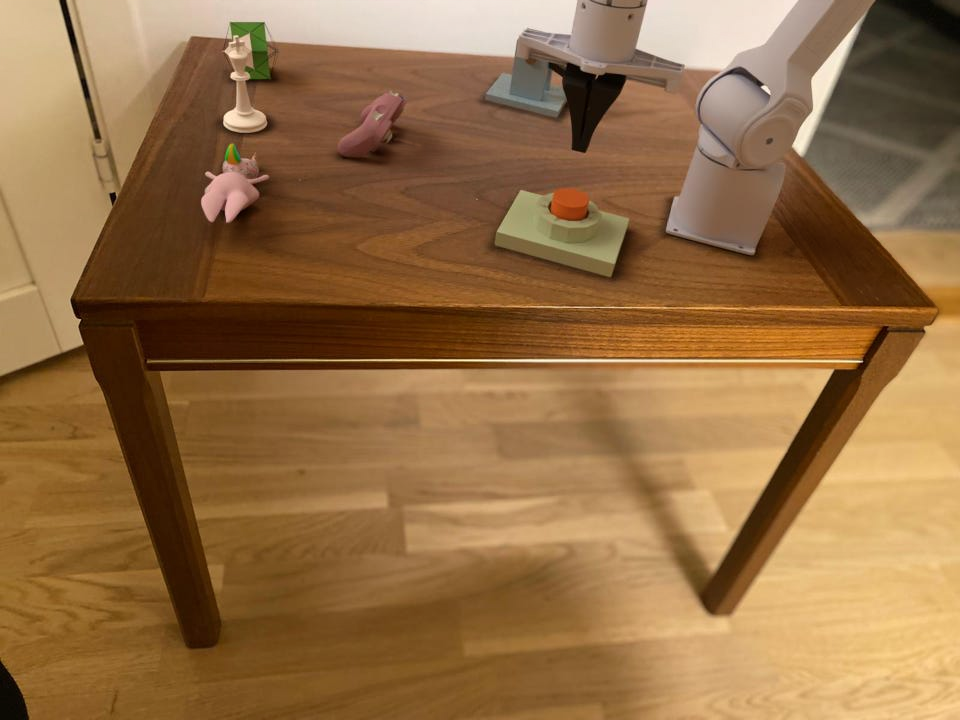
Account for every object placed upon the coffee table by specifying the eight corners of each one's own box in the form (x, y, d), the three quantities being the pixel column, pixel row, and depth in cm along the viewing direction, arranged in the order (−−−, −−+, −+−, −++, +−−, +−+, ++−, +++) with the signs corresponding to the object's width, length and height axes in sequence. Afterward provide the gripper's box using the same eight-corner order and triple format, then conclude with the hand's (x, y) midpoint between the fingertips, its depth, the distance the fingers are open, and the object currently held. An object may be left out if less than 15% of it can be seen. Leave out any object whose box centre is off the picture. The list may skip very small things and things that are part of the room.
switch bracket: (570, 97, 103) (582, 36, 97) (556, 120, 97) (569, 56, 92) (501, 80, 104) (509, 19, 99) (484, 102, 99) (492, 38, 93)
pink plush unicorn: (215, 178, 80) (185, 237, 68) (210, 123, 77) (177, 174, 64) (275, 181, 81) (256, 240, 69) (272, 127, 78) (251, 178, 65)
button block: (625, 232, 79) (634, 203, 77) (610, 278, 73) (619, 248, 70) (518, 203, 81) (523, 174, 79) (494, 245, 74) (498, 215, 72)
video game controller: (367, 176, 84) (395, 130, 80) (332, 152, 83) (359, 104, 79) (391, 138, 92) (419, 94, 87) (360, 116, 90) (386, 70, 86)
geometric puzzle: (220, 43, 98) (216, 5, 90) (274, 43, 100) (274, 5, 92) (227, 94, 97) (224, 60, 89) (281, 92, 99) (282, 59, 91)
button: (588, 208, 76) (592, 193, 74) (581, 226, 73) (585, 210, 72) (554, 199, 76) (557, 184, 75) (546, 216, 74) (549, 201, 72)
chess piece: (215, 119, 87) (203, 31, 80) (253, 110, 90) (245, 25, 83) (236, 136, 85) (226, 48, 78) (275, 127, 87) (268, 40, 80)
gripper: (516, -9, 60) (496, 146, 69) (695, 30, 58) (649, 185, 67) (538, -31, 65) (516, 117, 74) (703, 4, 63) (659, 151, 72)
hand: (580, 147), depth 71 cm, fingers closed
